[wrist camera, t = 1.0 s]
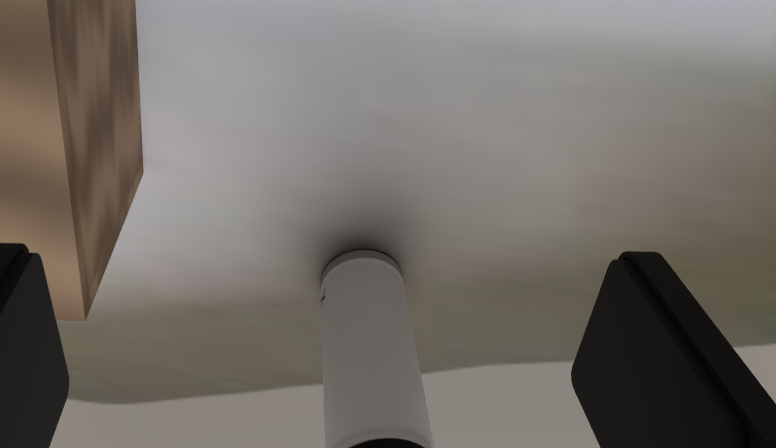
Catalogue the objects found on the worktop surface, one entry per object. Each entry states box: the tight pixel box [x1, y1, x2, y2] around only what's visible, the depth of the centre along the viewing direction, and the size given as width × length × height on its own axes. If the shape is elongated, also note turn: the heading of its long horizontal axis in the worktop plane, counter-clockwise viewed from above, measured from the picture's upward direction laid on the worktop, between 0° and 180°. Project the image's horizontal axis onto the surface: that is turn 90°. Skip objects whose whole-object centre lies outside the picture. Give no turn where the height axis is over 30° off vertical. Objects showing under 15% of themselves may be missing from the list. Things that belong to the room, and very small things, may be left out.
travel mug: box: [321, 250, 434, 448], centre depth 42 cm, size 6×7×20 cm
